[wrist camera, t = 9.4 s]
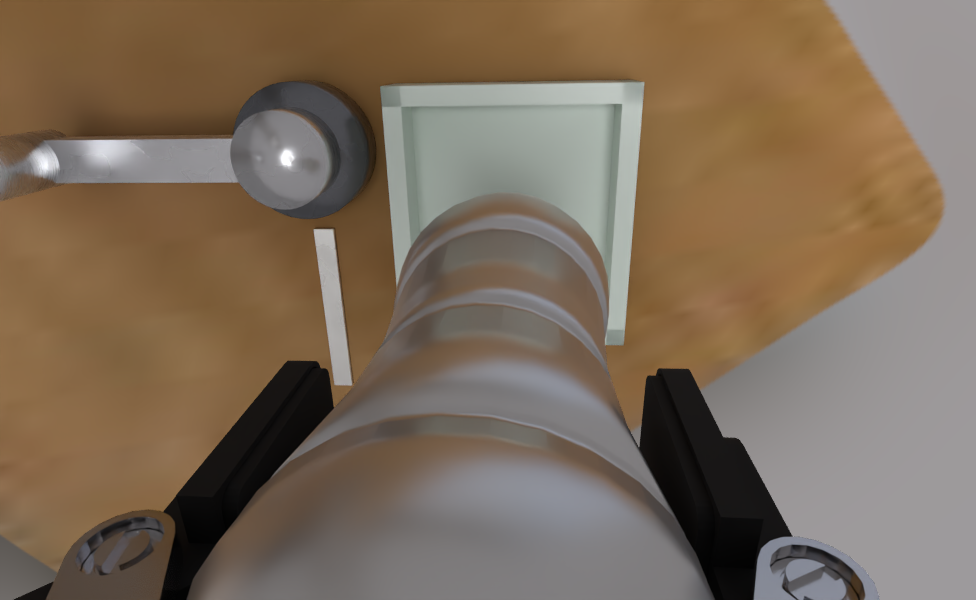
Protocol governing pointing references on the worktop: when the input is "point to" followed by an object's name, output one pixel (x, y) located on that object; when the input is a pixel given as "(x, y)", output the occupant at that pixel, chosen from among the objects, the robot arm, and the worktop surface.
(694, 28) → the worktop surface
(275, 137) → the crank
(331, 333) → the crank base
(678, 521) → the robot arm
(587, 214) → the tray
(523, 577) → the metal bottle
